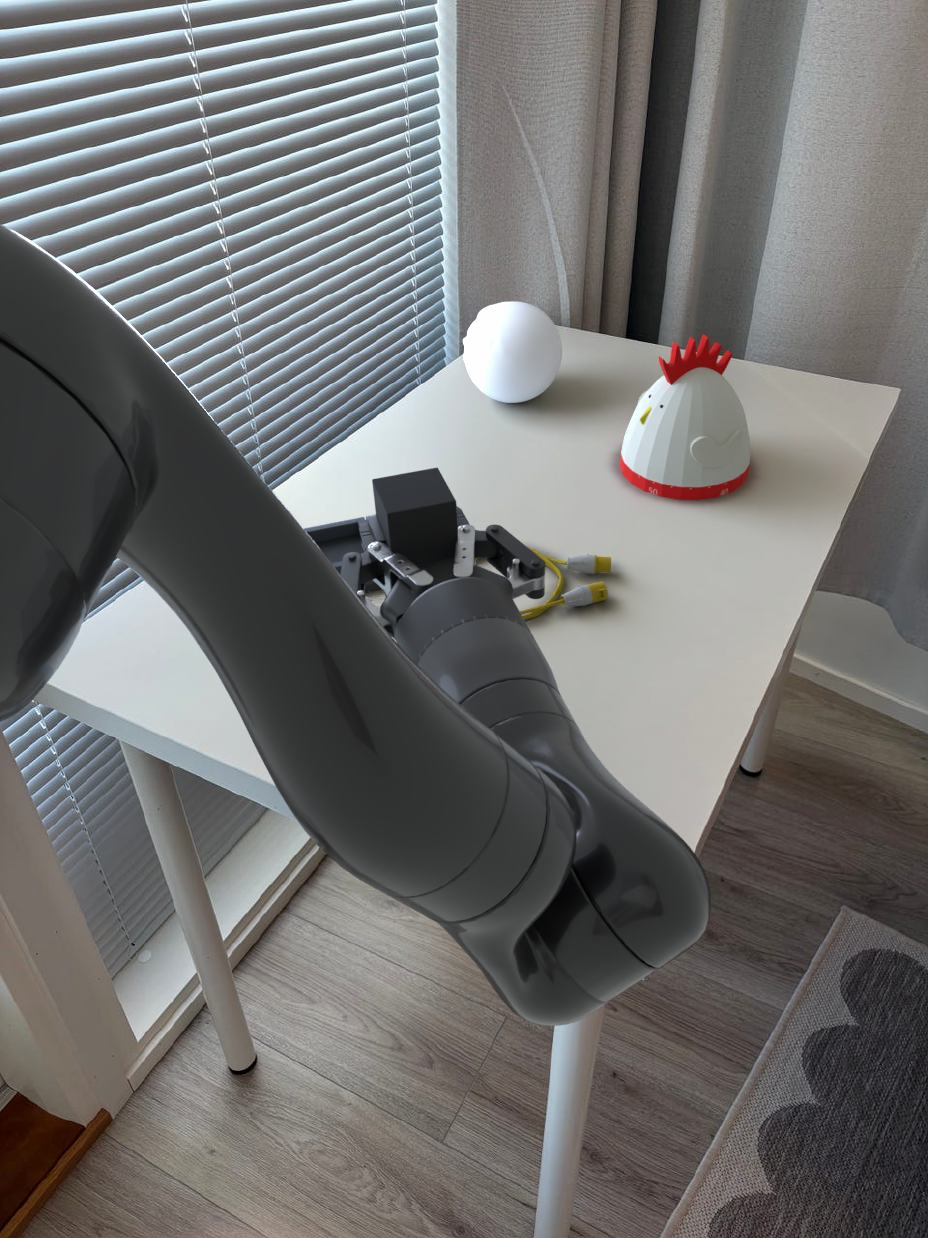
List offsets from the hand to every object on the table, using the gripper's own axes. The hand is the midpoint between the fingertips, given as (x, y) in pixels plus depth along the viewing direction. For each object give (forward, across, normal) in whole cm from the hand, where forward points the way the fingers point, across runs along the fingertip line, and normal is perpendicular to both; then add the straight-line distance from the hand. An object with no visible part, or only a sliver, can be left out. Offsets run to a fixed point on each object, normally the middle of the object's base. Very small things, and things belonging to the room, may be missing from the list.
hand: (407, 519), depth 67 cm
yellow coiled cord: (+11, -13, +18) cm, 25 cm away
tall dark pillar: (-3, 0, +6) cm, 7 cm away
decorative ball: (+49, -25, +18) cm, 58 cm away
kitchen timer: (+27, -37, +18) cm, 49 cm away
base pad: (+21, +3, +18) cm, 28 cm away
